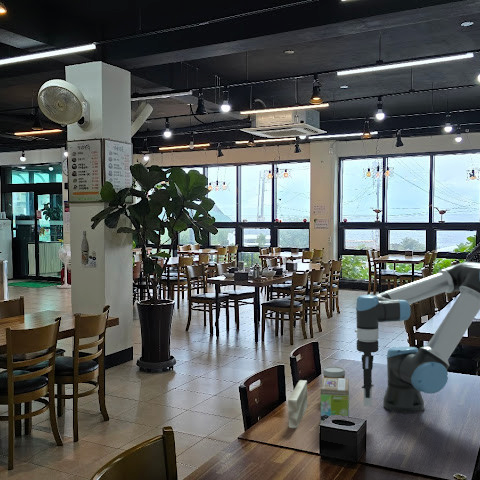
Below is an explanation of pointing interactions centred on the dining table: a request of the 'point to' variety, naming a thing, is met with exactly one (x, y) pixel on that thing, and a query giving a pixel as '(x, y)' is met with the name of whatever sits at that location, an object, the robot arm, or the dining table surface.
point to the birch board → (297, 404)
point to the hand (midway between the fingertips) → (367, 405)
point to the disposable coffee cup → (334, 372)
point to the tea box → (334, 397)
